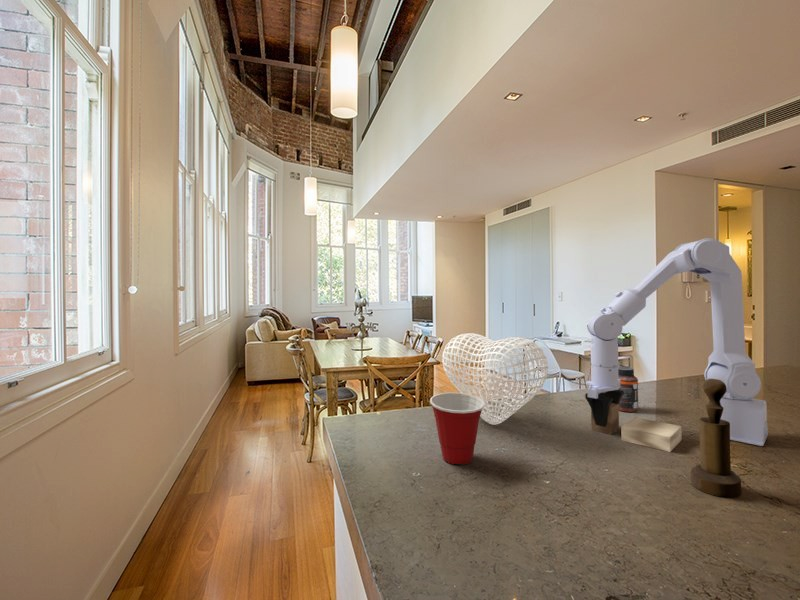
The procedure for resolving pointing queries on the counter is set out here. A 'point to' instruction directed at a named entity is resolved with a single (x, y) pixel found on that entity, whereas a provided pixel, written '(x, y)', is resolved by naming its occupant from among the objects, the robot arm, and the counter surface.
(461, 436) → the plastic cup
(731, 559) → the counter surface
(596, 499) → the counter surface
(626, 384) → the supplement bottle
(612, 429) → the walnut block
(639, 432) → the birch base block
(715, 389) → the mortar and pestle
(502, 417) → the heart
